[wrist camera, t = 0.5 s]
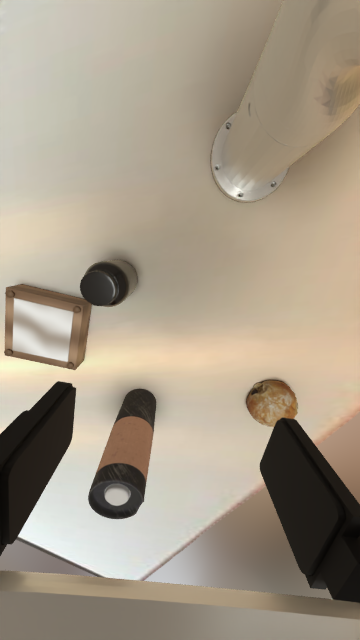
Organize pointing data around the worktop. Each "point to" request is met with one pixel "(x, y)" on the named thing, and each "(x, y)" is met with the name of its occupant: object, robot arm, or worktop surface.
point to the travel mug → (125, 459)
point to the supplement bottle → (108, 283)
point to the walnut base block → (46, 326)
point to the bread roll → (271, 402)
